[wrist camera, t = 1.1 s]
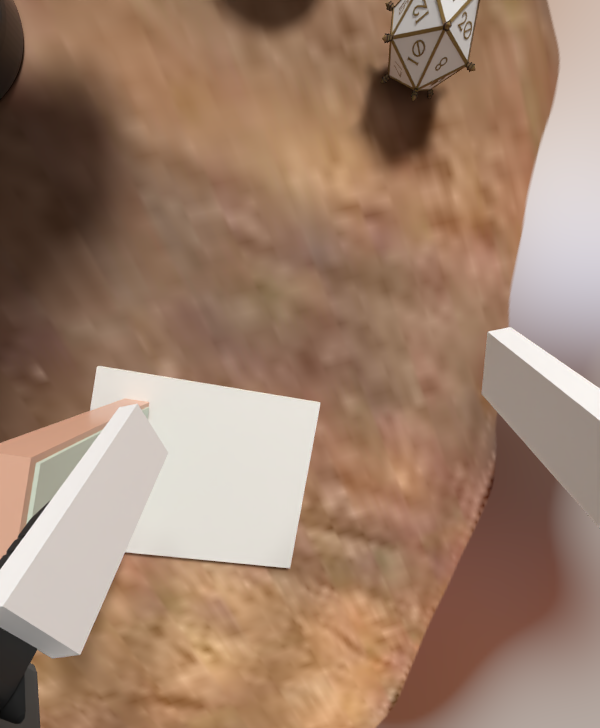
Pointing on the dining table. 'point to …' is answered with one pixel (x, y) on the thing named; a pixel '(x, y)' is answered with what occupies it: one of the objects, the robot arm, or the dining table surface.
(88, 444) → the terracotta tile
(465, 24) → the game die
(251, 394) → the rubber mat
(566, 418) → the robot arm
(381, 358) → the dining table surface
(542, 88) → the dining table surface
